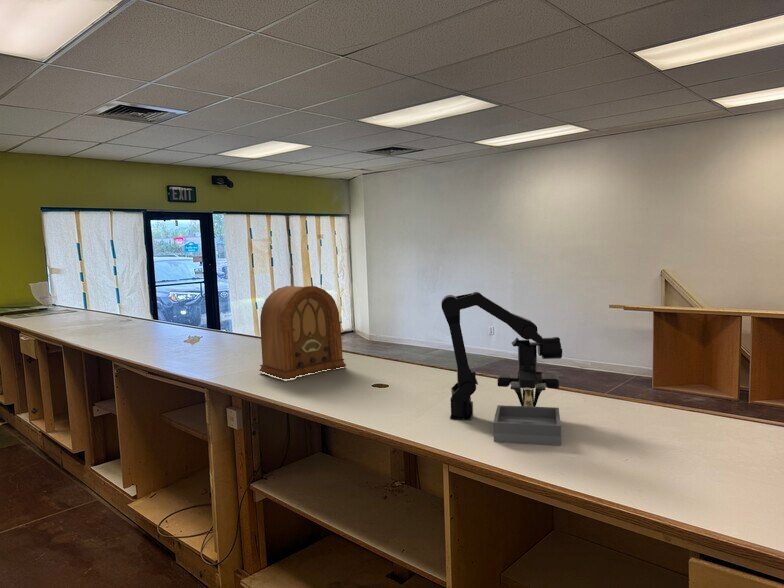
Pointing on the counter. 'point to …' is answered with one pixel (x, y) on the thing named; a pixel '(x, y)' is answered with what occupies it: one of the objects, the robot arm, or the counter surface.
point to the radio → (300, 332)
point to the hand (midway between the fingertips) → (528, 407)
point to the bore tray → (527, 425)
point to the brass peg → (528, 397)
